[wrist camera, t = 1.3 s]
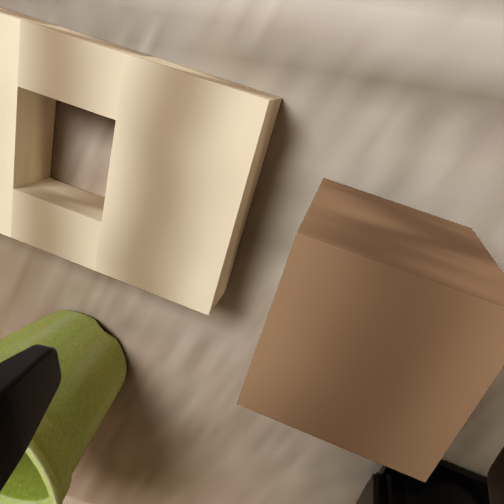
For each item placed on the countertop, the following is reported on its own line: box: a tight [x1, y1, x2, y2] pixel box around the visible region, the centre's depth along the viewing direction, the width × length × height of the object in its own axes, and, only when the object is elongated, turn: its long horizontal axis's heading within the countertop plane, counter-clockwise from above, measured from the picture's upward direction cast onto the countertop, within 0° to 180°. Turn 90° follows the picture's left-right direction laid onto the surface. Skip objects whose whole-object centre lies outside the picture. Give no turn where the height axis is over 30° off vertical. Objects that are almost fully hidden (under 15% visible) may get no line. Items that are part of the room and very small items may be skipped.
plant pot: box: [0, 311, 127, 504], centre depth 22 cm, size 9×9×9 cm
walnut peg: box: [237, 178, 504, 482], centre depth 15 cm, size 6×6×9 cm
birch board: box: [0, 7, 282, 316], centre depth 19 cm, size 16×10×2 cm, turn 76°
